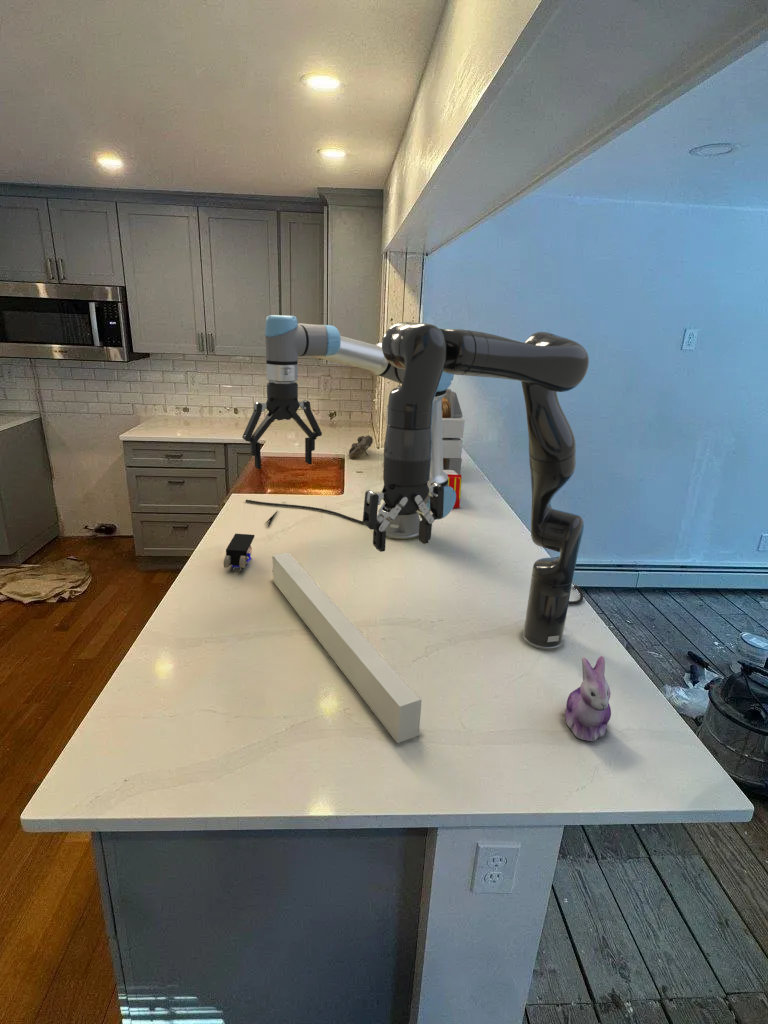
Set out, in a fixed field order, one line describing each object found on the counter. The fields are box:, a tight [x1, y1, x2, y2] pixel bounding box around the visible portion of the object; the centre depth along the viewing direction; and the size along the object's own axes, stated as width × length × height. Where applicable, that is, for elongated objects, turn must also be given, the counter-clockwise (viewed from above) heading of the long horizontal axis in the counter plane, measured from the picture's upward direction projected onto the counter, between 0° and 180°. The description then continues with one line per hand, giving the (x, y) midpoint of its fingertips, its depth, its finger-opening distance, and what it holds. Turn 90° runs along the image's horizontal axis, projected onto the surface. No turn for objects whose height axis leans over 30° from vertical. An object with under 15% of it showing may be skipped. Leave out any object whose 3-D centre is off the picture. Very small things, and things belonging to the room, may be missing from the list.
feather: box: [265, 511, 278, 527], centre depth 212 cm, size 2×28×2 cm
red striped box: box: [443, 470, 463, 509], centre depth 239 cm, size 12×13×30 cm
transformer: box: [383, 384, 465, 475], centre depth 268 cm, size 34×33×41 cm
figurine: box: [564, 655, 612, 742], centre depth 107 cm, size 9×10×15 cm
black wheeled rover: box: [223, 533, 255, 573], centre depth 170 cm, size 7×8×15 cm
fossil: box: [348, 435, 374, 460], centre depth 302 cm, size 22×10×15 cm
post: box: [272, 551, 423, 744], centre depth 132 cm, size 71×5×8 cm, turn 29°
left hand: (283, 465), depth 146 cm, fingers open, 13 cm apart
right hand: (402, 546), depth 96 cm, fingers open, 8 cm apart
